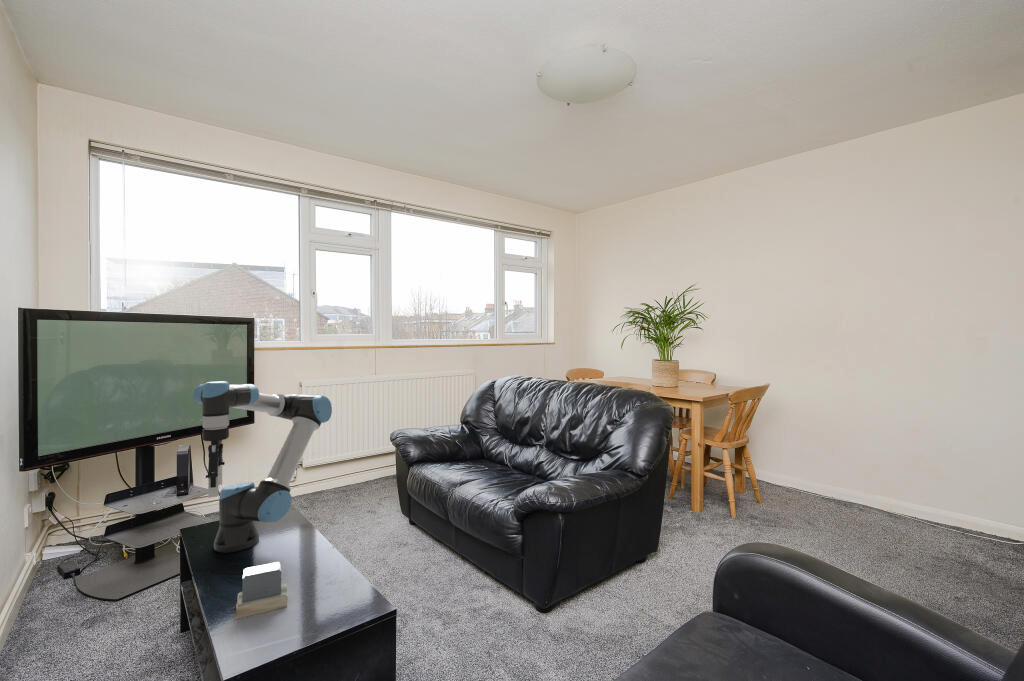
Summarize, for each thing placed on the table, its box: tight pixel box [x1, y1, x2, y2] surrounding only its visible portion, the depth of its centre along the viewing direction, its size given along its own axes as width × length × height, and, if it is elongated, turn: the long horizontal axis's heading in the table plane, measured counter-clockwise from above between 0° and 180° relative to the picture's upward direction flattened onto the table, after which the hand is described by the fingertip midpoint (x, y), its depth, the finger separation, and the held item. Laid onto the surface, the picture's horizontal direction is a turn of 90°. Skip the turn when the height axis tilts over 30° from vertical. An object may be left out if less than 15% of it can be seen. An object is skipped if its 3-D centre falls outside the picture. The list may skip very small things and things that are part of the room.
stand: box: [235, 582, 288, 619], centre depth 136 cm, size 8×13×4 cm, turn 118°
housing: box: [241, 561, 282, 603], centre depth 136 cm, size 10×6×7 cm, turn 118°
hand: (215, 490), depth 153 cm, fingers open, 13 cm apart
